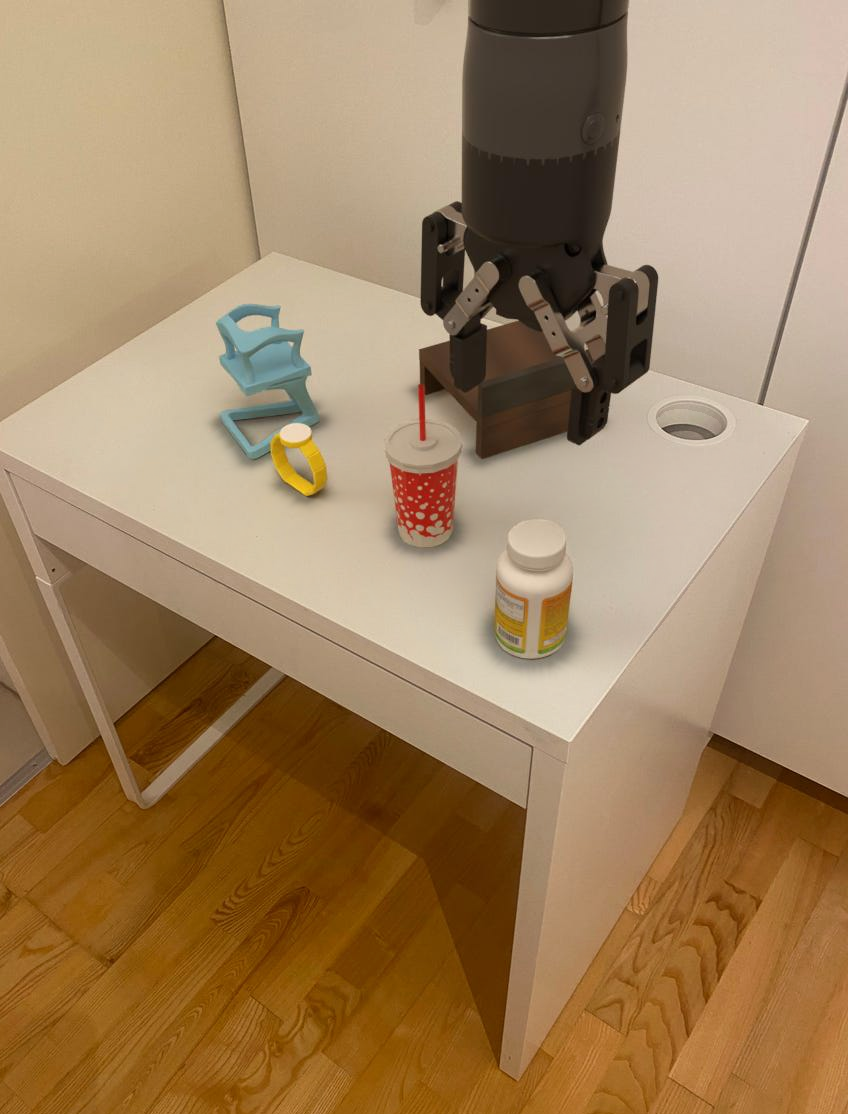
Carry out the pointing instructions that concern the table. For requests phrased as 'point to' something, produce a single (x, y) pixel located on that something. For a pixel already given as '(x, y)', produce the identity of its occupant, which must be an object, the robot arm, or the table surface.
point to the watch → (302, 439)
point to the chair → (264, 371)
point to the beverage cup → (424, 477)
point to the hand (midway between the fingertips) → (523, 410)
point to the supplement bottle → (533, 590)
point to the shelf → (508, 388)
